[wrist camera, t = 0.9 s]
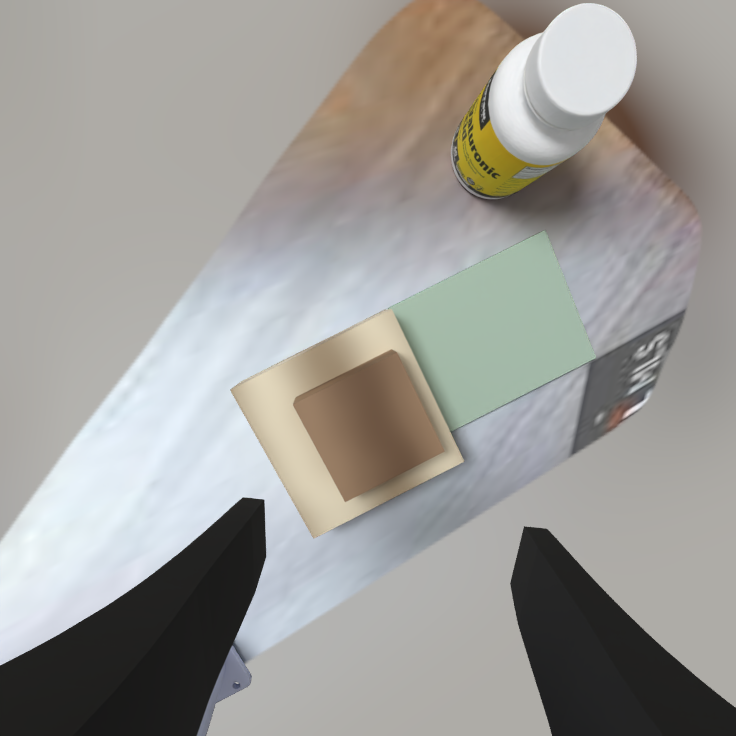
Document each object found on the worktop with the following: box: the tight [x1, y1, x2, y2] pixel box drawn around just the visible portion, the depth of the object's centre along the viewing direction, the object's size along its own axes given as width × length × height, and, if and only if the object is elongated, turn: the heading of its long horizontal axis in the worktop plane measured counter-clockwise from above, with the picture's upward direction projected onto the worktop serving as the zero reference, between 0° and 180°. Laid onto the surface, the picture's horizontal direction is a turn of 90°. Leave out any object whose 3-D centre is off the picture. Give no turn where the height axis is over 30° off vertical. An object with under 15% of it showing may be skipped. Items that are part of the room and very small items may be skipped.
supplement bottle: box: [451, 3, 637, 199], centre depth 20 cm, size 5×5×10 cm
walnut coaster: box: [293, 349, 445, 502], centre depth 23 cm, size 6×6×2 cm
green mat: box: [388, 230, 596, 432], centre depth 26 cm, size 11×9×1 cm
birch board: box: [230, 309, 464, 538], centre depth 25 cm, size 10×10×3 cm
